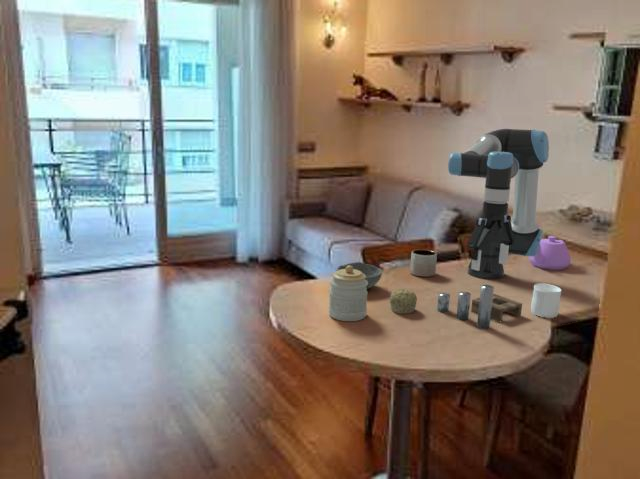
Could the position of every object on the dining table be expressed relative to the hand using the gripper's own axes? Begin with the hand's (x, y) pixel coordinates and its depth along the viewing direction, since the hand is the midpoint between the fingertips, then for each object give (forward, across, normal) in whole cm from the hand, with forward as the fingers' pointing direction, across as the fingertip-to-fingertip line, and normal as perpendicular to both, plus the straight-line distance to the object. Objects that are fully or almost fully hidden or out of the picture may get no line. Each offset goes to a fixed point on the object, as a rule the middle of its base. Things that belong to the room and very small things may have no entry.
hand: (489, 266), depth 190 cm
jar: (+21, +32, -32) cm, 50 cm away
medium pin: (+21, 0, -9) cm, 23 cm away
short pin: (+21, 0, -18) cm, 27 cm away
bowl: (+21, +10, -53) cm, 58 cm away
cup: (+21, -29, +3) cm, 36 cm away
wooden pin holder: (+21, -14, -6) cm, 26 cm away
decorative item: (+21, +12, -26) cm, 36 cm away
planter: (+21, -26, -54) cm, 64 cm away
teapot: (+20, -86, -34) cm, 95 cm away
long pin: (+21, 0, 0) cm, 21 cm away
